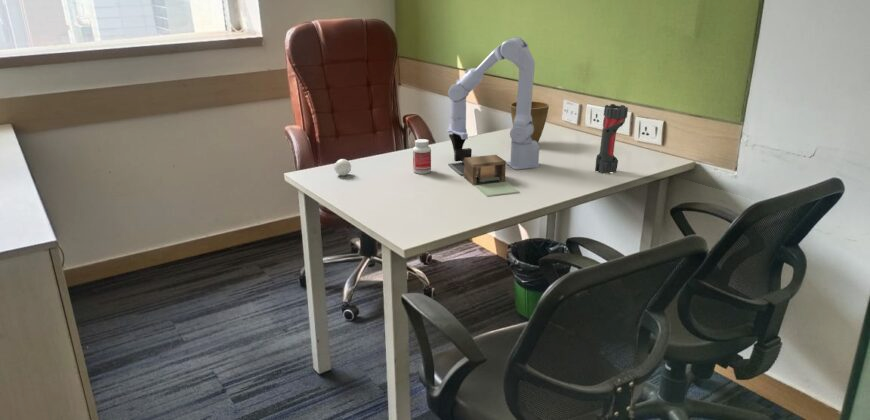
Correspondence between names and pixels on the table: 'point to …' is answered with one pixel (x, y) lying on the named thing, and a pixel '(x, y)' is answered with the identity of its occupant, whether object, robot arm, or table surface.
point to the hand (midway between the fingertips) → (457, 153)
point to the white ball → (342, 167)
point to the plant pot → (534, 117)
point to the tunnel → (481, 161)
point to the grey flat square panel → (458, 167)
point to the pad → (497, 189)
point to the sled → (482, 172)
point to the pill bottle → (422, 157)
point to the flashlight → (610, 137)
